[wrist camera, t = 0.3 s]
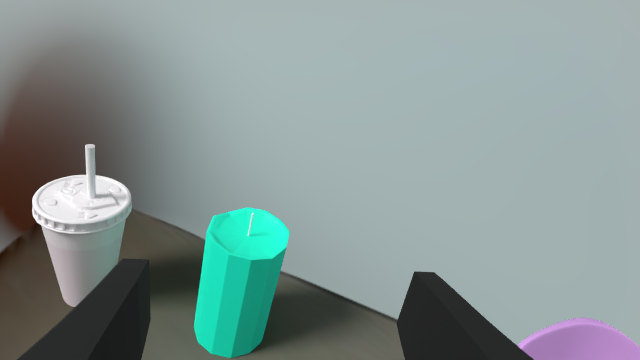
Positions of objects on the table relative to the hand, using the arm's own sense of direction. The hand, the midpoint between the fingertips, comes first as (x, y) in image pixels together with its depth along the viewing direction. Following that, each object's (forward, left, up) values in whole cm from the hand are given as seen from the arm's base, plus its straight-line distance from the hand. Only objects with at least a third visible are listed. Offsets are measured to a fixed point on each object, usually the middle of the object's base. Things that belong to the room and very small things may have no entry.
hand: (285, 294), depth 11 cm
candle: (+16, -1, -21) cm, 27 cm away
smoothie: (+19, +11, -21) cm, 31 cm away
